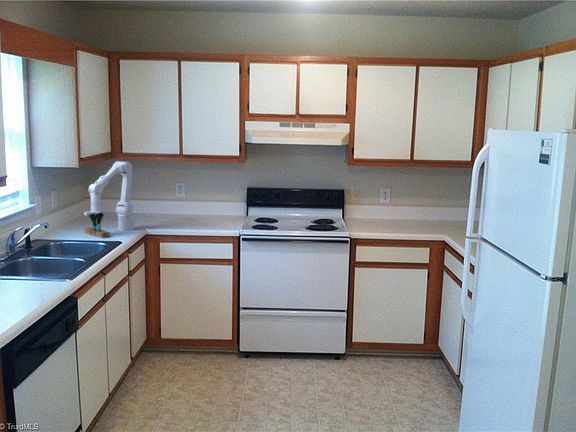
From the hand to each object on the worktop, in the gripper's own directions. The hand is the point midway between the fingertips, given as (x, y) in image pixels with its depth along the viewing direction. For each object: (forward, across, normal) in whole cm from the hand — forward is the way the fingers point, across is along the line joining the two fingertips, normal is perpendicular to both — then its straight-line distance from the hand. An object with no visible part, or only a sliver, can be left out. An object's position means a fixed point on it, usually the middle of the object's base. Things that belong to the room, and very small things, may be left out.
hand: (96, 225), depth 317 cm
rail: (+6, 0, 0) cm, 6 cm away
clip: (+4, 0, 0) cm, 4 cm away
